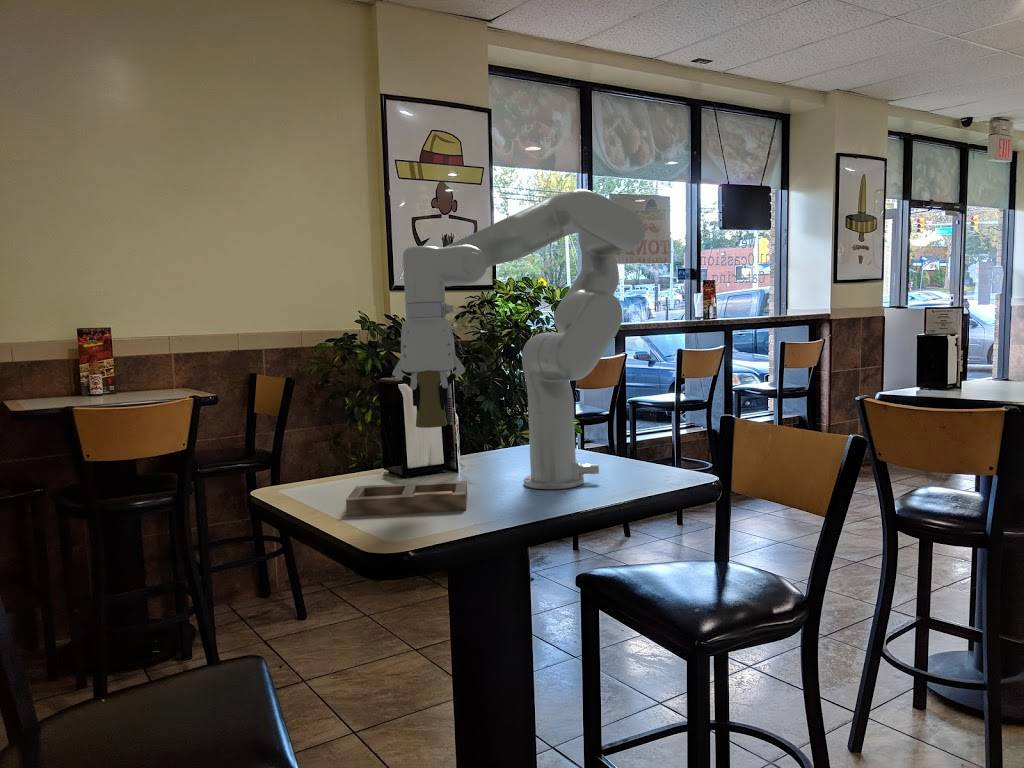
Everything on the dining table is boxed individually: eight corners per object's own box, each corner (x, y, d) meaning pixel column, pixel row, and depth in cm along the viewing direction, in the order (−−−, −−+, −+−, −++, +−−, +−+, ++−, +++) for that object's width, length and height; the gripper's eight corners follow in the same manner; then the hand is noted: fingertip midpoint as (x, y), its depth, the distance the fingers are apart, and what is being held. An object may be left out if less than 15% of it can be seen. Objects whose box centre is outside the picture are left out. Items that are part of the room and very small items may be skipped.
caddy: (467, 495, 159) (466, 479, 159) (466, 510, 147) (465, 492, 147) (357, 500, 159) (356, 484, 158) (346, 516, 147) (345, 498, 146)
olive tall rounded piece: (442, 427, 148) (439, 368, 147) (411, 427, 150) (408, 369, 149) (451, 422, 154) (448, 366, 153) (421, 423, 155) (418, 367, 154)
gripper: (470, 310, 154) (474, 405, 156) (383, 314, 154) (389, 409, 155) (469, 310, 147) (474, 409, 148) (378, 314, 146) (384, 413, 148)
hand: (430, 408), depth 152 cm, fingers closed on olive tall rounded piece, 3 cm apart
